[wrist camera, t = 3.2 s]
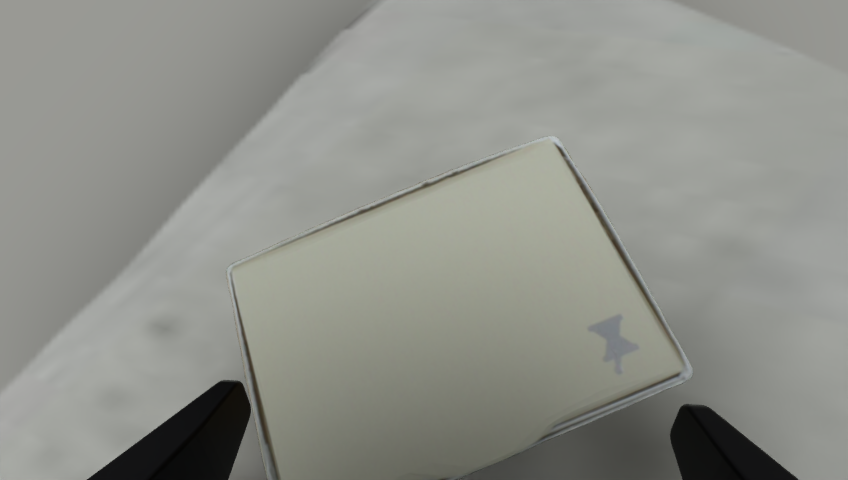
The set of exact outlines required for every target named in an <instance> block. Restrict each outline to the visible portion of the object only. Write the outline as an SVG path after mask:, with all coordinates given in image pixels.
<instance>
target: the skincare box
mask: <svg viewBox="0 0 848 480" xmlns="http://www.w3.org/2000/svg"><path fill="white" fill-rule="evenodd" d="M226 279H227V283H228V288H229V292H230V297H231V301H232V306H233V311H234V319H235V324H236V330H237V335H238V340H239V344H240V349H241V355H242V361H243V366H244V373H245V378H246V382H247V387H248V392H249V396H250V400H251V404H252V409H253V415H254V419H255V424H256V430H257V435H258V440H259V445H260V450H261V455H262V459H263V463H264V468H265V472H266V476H267V480H457V479H459V478H462V477H464V476H466V475H469V474H471V473H473V472H476V471H478V470H480V469H483V468H485V467H487V466H490V465H492V464H495V463H497V462H500V461H502V460H504V459H506V458H509V457H511V456H513V455H516V454H518V453H520V452H522V451H525V450H527V449H529V448H532V447H534V446H536V445H538V444H541V443H543V442H545V441H547V440H550V439H552V438H554V437H557V436H559V435H561V434H564V433H566V432H568V431H571V430H573V429H576V428H578V427H581V426H583V425H585V424H588V423H590V422H593V421H595V420H597V419H599V418H602V417H604V416H606V415H608V414H611V413H613V412H616V411H618V410H621V409H623V408H625V407H628V406H630V405H633V404H635V403H637V402H639V401H641V400H644V399H646V398H648V397H650V396H652V395H655V394H657V393H659V392H662V391H664V390H667V389H669V388H672V387H674V386H677V385H680V384H683V383H684V382H686V381H687V380H689V379H690V378H692V374H693V368H692V366H691V364H690V362H689V360H688V359H687V357H686V355H685V353H684V351H683V350H682V348H681V346H680V344H679V343H678V341H677V339H676V338H675V336H674V335H673V333H672V331H671V329H670V327H669V325H668V323H667V321H666V319H665V317H664V315H663V313H662V311H661V310H660V308H659V306H658V304H657V303H656V301H655V300H654V298H653V296H652V295H651V293H650V291H649V289H648V287H647V285H646V283H645V281H644V279H643V278H642V276H641V274H640V272H639V270H638V269H637V267H636V265H635V263H634V262H633V260H632V258H631V257H630V255H629V253H628V252H627V250H626V248H625V246H624V244H623V242H622V241H621V239H620V237H619V235H618V234H617V232H616V230H615V228H614V226H613V225H612V223H611V221H610V220H609V218H608V216H607V214H606V213H605V211H604V209H603V208H602V206H601V204H600V203H599V201H598V199H597V198H596V196H595V194H594V192H593V191H592V189H591V188H590V186H589V185H588V183H587V181H586V179H585V178H584V176H583V175H582V174H581V172H580V171H579V170H578V168H577V167H576V165H575V164H574V162H573V160H572V159H571V157H570V155H569V153H568V152H567V150H566V148H565V147H564V145H563V144H562V143H561V141H560V140H559V139H558V137H554V136H547V137H542V138H539V139H537V140H534V141H531V142H528V143H525V144H522V145H518V146H515V147H512V148H510V149H507V150H505V151H502V152H499V153H496V154H493V155H490V156H487V157H485V158H482V159H480V160H477V161H474V162H471V163H469V164H466V165H464V166H461V167H459V168H456V169H452V170H450V171H447V172H445V173H443V174H440V175H438V176H435V177H433V178H430V179H428V180H425V181H423V182H420V183H418V184H416V185H414V186H411V187H409V188H406V189H403V190H401V191H398V192H396V193H394V194H391V195H389V196H387V197H384V198H382V199H379V200H377V201H374V202H372V203H370V204H367V205H365V206H362V207H360V208H358V209H355V210H353V211H351V212H348V213H346V214H343V215H341V216H339V217H337V218H334V219H332V220H330V221H327V222H325V223H322V224H320V225H318V226H315V227H313V228H311V229H308V230H306V231H304V232H302V233H300V234H298V235H296V236H293V237H291V238H289V239H286V240H284V241H281V242H279V243H277V244H275V245H273V246H271V247H269V248H266V249H264V250H262V251H260V252H257V253H255V254H253V255H251V256H248V257H246V258H244V259H242V260H239V261H237V262H235V263H232V264H231V265H230V266H229V267H228V268H227V271H226Z"/></svg>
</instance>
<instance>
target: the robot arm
mask: <svg viewBox="0 0 848 480" xmlns="http://www.w3.org/2000/svg"><path fill="white" fill-rule="evenodd" d="M250 413H251V406H250V403H249V400H248V397H247V394H246V391H245V388H244V386H243V384H242V383H241V382H240V381H234V380H223V381H220V382H218V383H217V384H215V385H214V386H213V387H211V388H210V389H209V390H207V391H206V392H205V393H203V394H202V395H200V396H199V397H198V398H196V399H195V400H194V401H192V402H191V403H190V404H188V405H187V406H186V407H184V408H183V409H182V410H180V411H179V412H178V413H176V414H175V415H174V416H172V417H171V418H169V419H168V420H167V421H165V422H164V423H163V424H161V425H160V426H159V427H157V428H156V429H155V430H153V431H152V432H151V433H149V434H148V435H147V436H145V437H144V438H143V439H141V440H140V441H138V442H137V443H136V444H134V445H133V446H132V447H130V448H129V449H128V450H126V451H125V452H124V453H122V454H121V455H120V456H118V457H117V458H116V459H114V460H113V461H112V462H110V463H109V464H107V465H106V466H105V467H103V468H102V469H101V470H99V471H98V472H97V473H95V474H94V475H93V476H91V477H90V478H89V479H87V480H228V479H229V476H230V473H231V470H232V467H233V464H234V461H235V459H236V456H237V453H238V450H239V447H240V444H241V441H242V438H243V435H244V433H245V430H246V427H247V424H248V421H249V418H250ZM670 439H671V444H672V447H673V450H674V453H675V457H676V460H677V463H678V466H679V470H680V473H681V476H682V479H683V480H798V479H797V478H796V477H795V476H793V475H792V474H791V473H790V472H789V471H787V470H786V469H785V468H784V467H782V466H781V465H780V464H779V463H777V462H776V461H775V460H774V459H772V458H771V457H770V456H769V455H768V454H766V453H765V452H764V451H763V450H761V449H760V448H759V447H758V446H756V445H755V444H754V443H753V442H751V441H750V440H749V439H748V438H747V437H745V436H744V435H743V434H742V433H740V432H739V431H738V430H737V429H735V428H734V427H733V426H732V425H730V424H729V423H728V422H727V421H726V420H724V419H723V418H722V417H721V416H719V415H718V414H717V413H716V412H714V411H713V410H712V409H710V408H709V407H707V406H704V405H693V404H684V405H683V406H681V407H680V409H679V412H678V414H677V417H676V419H675V421H674V424H673V426H672V429H671V433H670Z"/></svg>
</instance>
